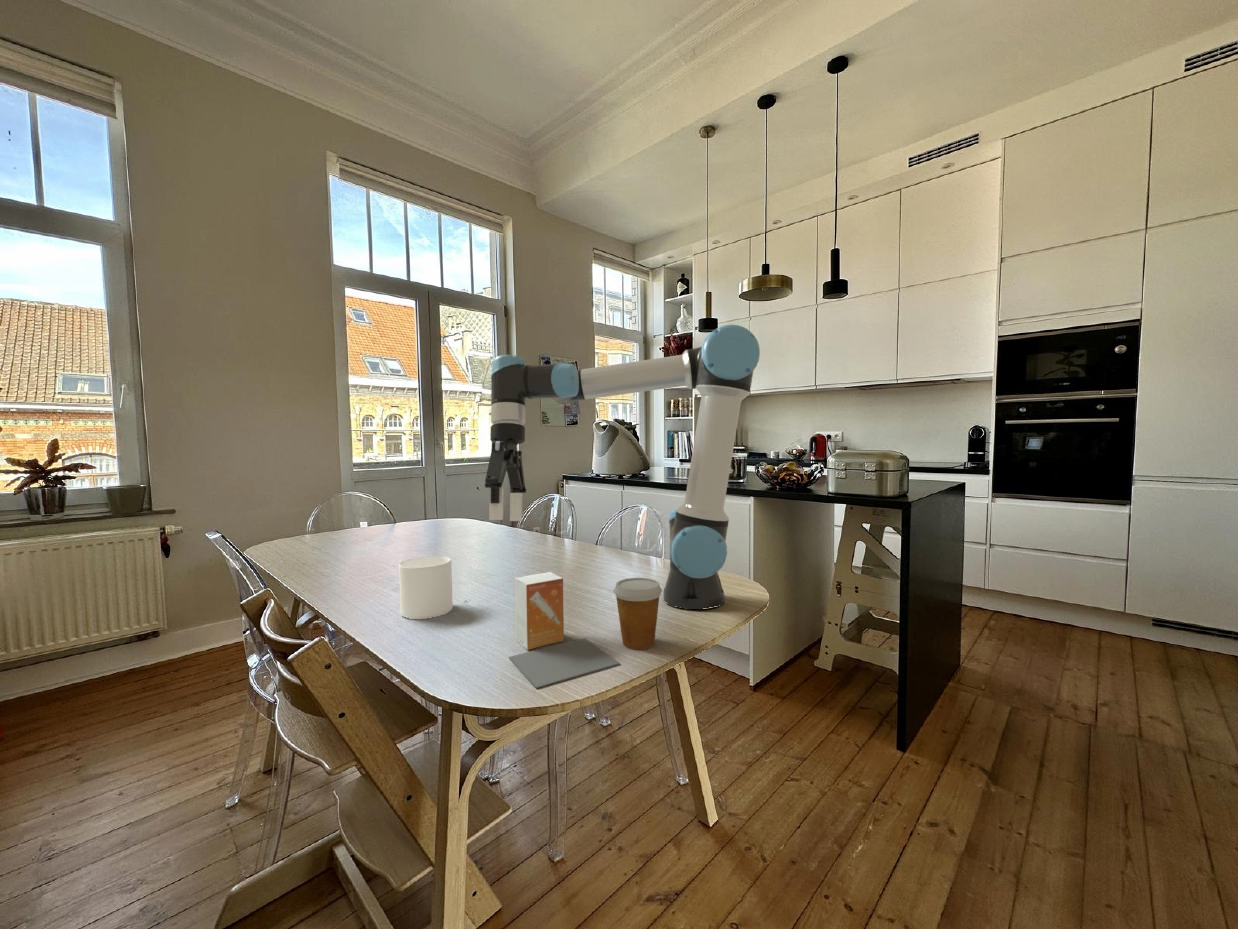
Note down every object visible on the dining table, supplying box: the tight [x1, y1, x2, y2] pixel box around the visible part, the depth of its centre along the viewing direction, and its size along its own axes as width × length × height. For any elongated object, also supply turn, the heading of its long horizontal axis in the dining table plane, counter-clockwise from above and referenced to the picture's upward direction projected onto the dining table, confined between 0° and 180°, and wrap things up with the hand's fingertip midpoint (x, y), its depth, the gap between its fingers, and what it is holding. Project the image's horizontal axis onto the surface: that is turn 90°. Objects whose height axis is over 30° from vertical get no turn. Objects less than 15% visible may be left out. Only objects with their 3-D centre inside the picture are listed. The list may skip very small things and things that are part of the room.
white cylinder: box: [398, 555, 454, 620], centre depth 118 cm, size 12×12×12 cm
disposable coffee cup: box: [613, 577, 663, 650], centre depth 97 cm, size 10×10×12 cm
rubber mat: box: [508, 637, 621, 690], centre depth 89 cm, size 16×14×1 cm
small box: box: [514, 571, 565, 651], centre depth 99 cm, size 8×6×13 cm
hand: (506, 520), depth 107 cm, fingers open, 13 cm apart
